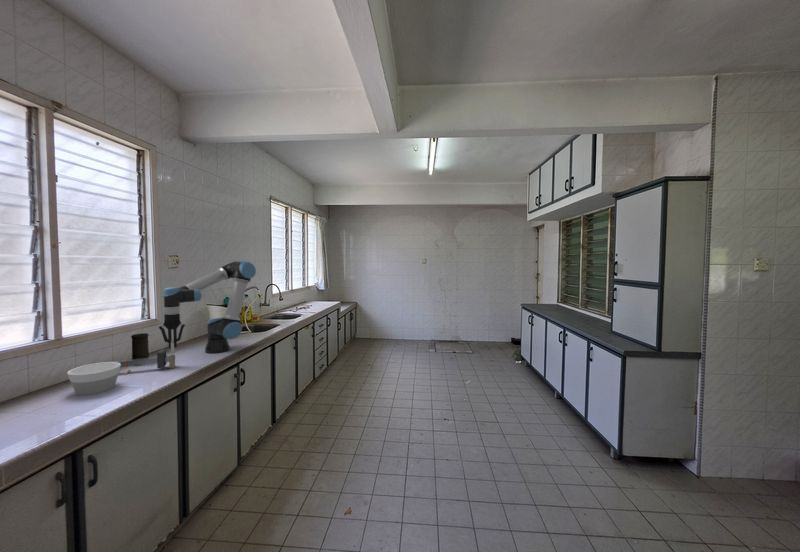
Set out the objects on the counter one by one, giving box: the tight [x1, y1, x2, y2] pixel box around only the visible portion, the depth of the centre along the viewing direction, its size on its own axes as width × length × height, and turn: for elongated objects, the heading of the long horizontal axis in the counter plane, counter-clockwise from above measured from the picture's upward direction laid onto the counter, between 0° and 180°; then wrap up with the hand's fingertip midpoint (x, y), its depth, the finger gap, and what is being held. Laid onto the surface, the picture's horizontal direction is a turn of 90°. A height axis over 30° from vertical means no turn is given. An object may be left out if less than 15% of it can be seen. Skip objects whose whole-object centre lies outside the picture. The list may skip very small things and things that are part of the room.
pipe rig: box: [109, 354, 176, 376], centre depth 185 cm, size 30×9×7 cm, turn 117°
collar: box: [156, 348, 167, 369], centre depth 189 cm, size 3×8×9 cm, turn 27°
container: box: [130, 333, 150, 367], centre depth 198 cm, size 9×9×18 cm
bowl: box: [67, 361, 121, 396], centre depth 159 cm, size 19×19×11 cm
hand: (172, 352), depth 191 cm, fingers closed
